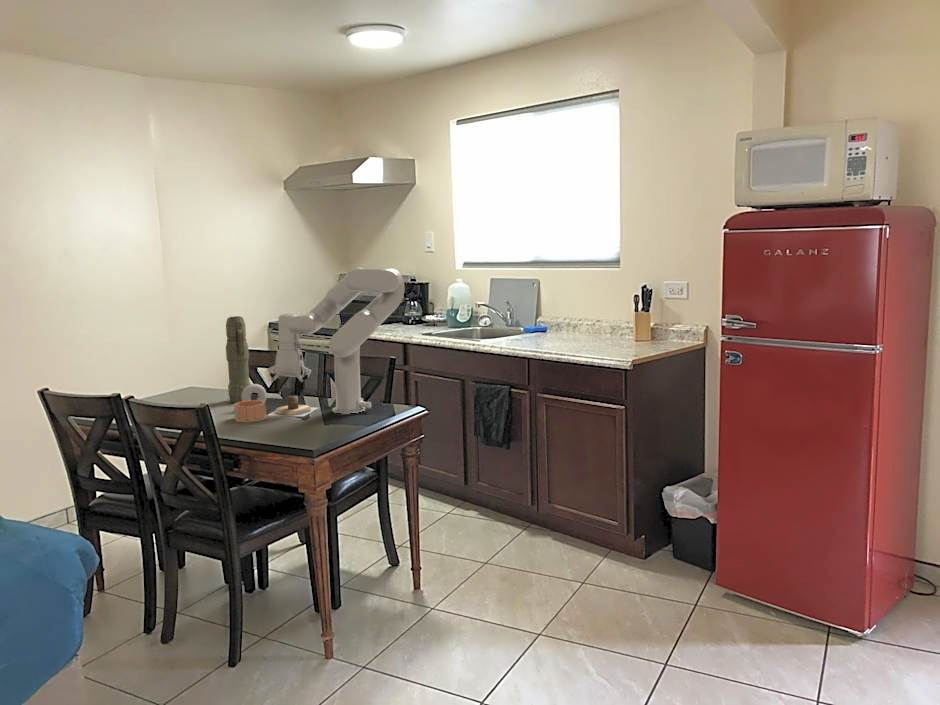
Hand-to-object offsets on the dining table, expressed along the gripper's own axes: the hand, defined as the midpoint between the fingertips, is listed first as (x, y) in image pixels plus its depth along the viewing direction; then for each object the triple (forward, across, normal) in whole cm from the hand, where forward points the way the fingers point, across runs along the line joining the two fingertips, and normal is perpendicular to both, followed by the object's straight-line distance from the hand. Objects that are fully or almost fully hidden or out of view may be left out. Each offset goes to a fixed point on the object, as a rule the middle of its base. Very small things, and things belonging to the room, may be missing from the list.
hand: (289, 390), depth 283 cm
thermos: (+10, +30, -17) cm, 36 cm away
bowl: (+9, +10, +13) cm, 18 cm away
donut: (+9, +17, -4) cm, 20 cm away
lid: (+8, -1, 0) cm, 8 cm away
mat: (+8, -1, 0) cm, 8 cm away
